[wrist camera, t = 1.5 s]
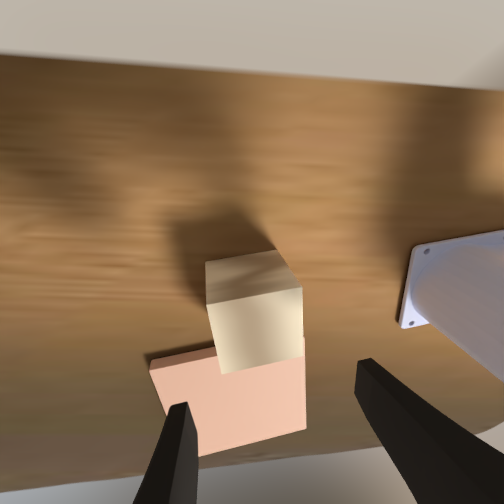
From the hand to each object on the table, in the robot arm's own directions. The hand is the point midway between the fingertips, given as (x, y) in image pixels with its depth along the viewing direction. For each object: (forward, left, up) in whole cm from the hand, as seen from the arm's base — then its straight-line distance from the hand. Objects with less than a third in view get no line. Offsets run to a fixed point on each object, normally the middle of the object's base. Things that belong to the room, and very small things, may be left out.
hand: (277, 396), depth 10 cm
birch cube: (0, 0, -9) cm, 9 cm away
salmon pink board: (+2, +11, -9) cm, 14 cm away
